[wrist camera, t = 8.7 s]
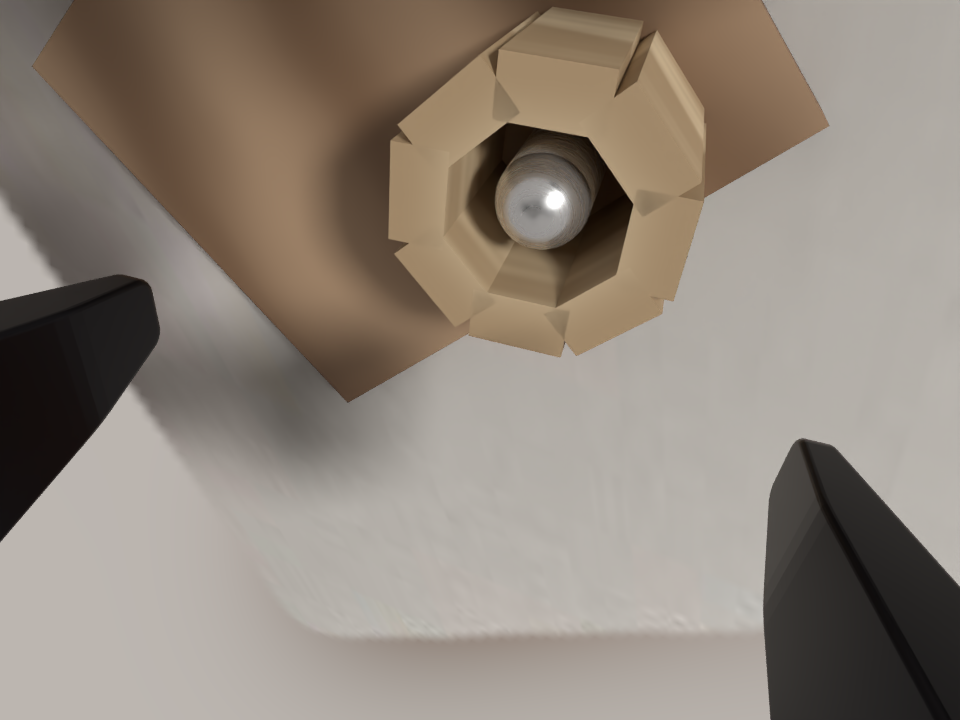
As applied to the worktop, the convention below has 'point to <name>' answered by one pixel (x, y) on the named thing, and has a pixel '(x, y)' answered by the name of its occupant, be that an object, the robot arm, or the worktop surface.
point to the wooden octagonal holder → (607, 233)
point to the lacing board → (359, 135)
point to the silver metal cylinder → (549, 189)
